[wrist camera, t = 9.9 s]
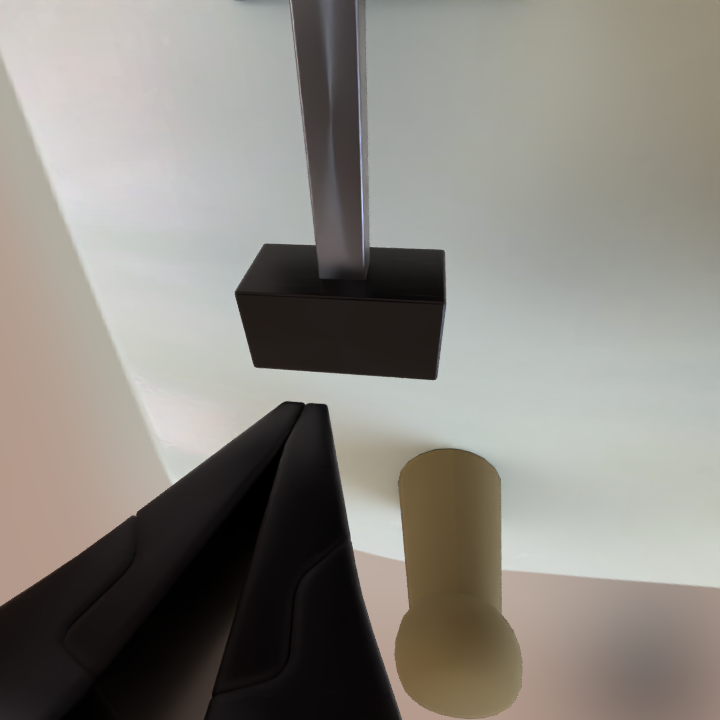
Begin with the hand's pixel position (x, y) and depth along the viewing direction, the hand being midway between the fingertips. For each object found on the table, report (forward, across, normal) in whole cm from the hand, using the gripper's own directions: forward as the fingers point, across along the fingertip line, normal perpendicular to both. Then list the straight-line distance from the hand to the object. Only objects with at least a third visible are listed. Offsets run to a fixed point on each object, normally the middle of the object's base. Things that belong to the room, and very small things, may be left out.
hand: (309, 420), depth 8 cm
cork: (+12, -5, +15) cm, 20 cm away
